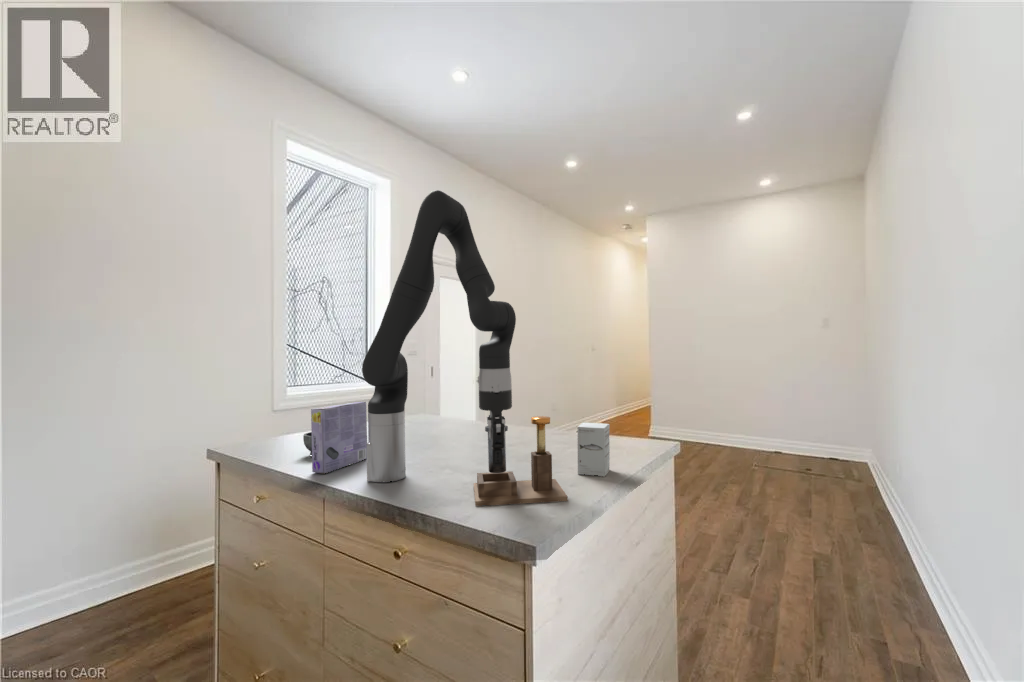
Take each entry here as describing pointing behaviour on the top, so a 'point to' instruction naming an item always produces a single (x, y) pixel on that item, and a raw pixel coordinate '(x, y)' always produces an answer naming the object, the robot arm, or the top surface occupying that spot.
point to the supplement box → (593, 449)
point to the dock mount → (520, 485)
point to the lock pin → (540, 432)
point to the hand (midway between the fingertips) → (496, 462)
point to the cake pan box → (338, 436)
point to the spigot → (490, 458)
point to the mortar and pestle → (308, 441)
